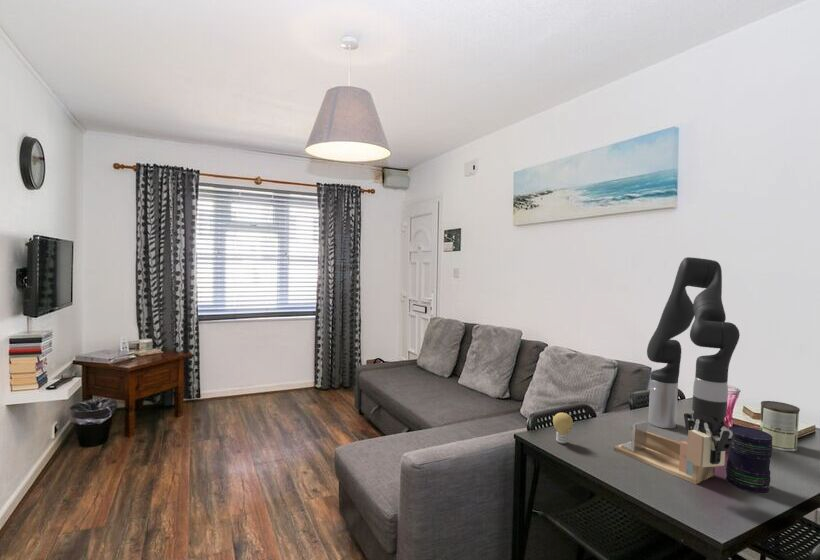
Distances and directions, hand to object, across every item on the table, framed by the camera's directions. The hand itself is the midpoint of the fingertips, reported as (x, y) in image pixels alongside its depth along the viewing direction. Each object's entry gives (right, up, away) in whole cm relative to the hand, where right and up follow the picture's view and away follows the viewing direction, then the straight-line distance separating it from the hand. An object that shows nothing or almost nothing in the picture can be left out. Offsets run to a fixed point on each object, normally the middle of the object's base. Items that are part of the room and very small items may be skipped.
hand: (705, 458), depth 114 cm
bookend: (-6, -7, +26) cm, 28 cm away
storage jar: (+16, -10, +6) cm, 20 cm away
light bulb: (-27, -8, +32) cm, 43 cm away
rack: (-1, -9, +19) cm, 21 cm away
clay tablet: (+9, -10, +31) cm, 34 cm away
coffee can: (+50, -10, +35) cm, 62 cm away
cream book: (0, -1, 0) cm, 1 cm away
